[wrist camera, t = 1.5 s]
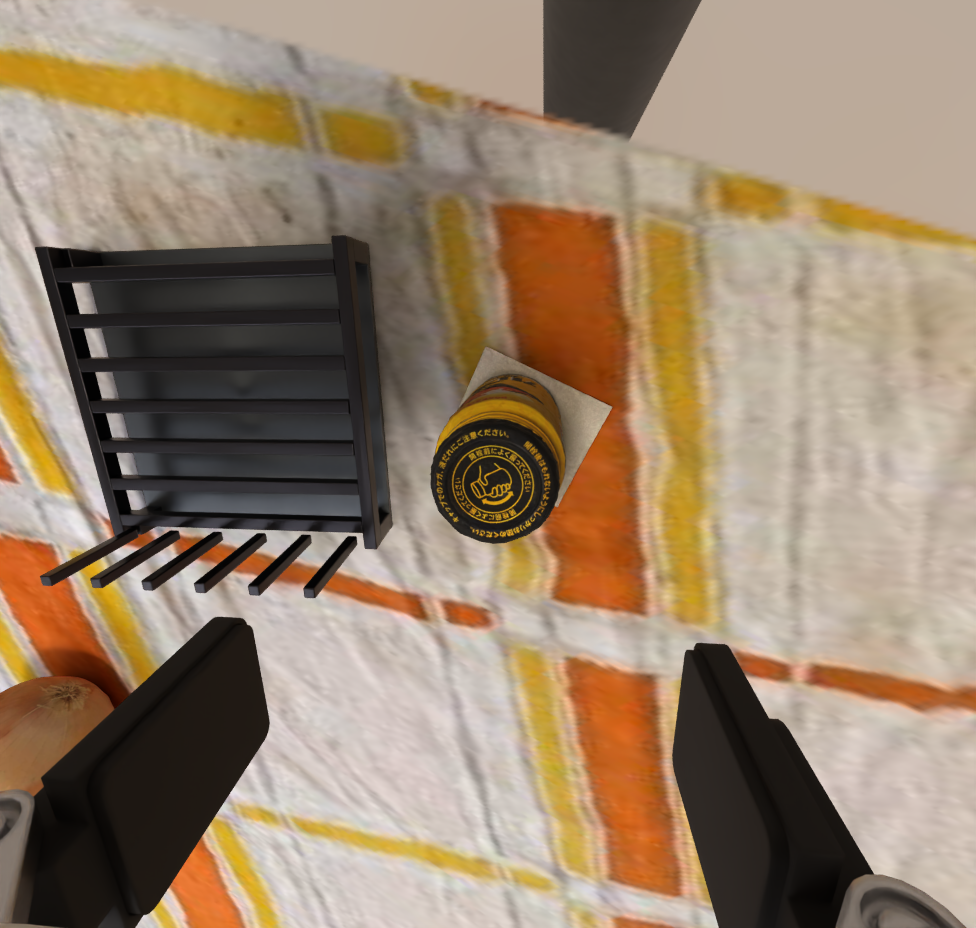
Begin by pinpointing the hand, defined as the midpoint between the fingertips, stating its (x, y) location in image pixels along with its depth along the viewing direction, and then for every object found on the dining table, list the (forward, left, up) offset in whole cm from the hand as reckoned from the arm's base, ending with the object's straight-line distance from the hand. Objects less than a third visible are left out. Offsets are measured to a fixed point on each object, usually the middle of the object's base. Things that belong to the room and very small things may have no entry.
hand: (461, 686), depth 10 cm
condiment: (0, 0, -22) cm, 22 cm away
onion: (+24, -36, -22) cm, 49 cm away
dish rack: (-2, -17, -22) cm, 28 cm away
